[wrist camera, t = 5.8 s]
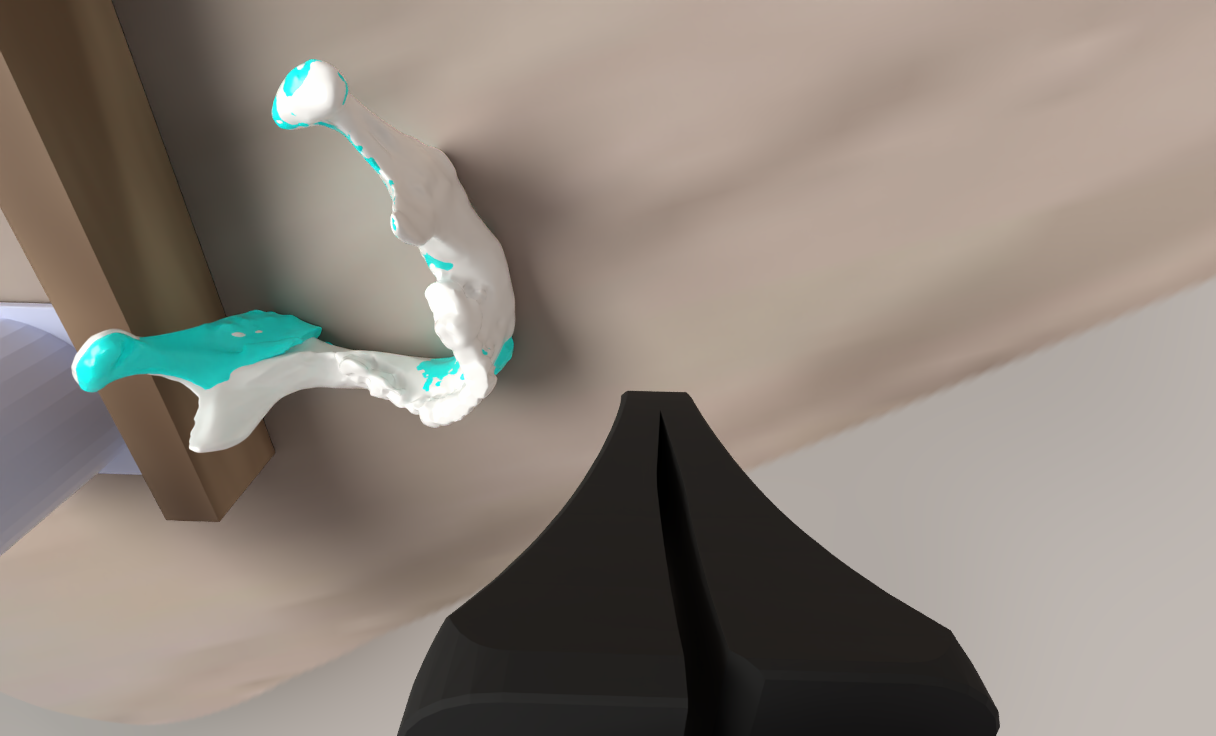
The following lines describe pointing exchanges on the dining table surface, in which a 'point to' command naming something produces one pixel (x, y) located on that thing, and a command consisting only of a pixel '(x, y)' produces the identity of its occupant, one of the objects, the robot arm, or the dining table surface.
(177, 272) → the cleat board
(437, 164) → the jawbone
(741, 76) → the dining table surface
